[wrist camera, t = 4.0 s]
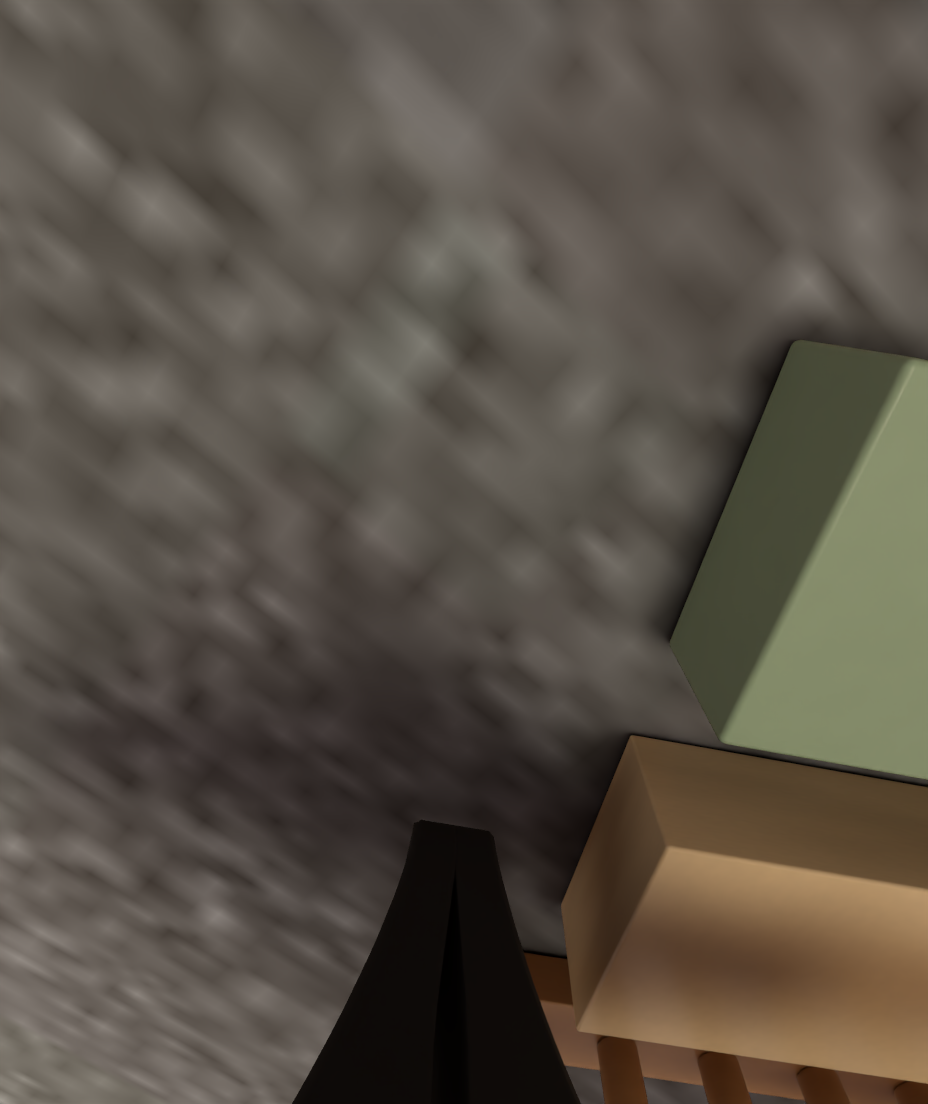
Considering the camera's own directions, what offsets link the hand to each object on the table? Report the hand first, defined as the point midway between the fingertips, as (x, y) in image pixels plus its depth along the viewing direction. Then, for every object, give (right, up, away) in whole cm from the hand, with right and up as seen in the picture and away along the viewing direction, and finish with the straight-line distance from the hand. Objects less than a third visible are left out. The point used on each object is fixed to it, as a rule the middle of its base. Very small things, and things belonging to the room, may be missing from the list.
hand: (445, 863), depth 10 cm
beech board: (+10, -1, +2) cm, 10 cm away
